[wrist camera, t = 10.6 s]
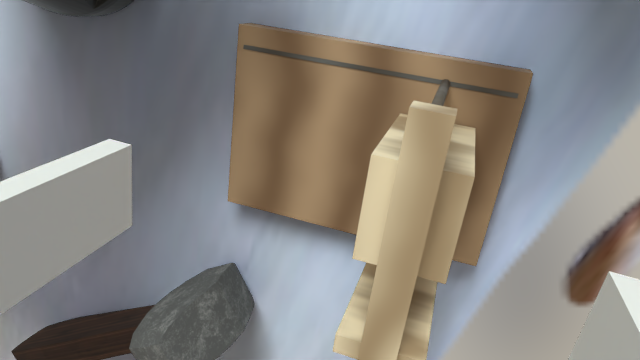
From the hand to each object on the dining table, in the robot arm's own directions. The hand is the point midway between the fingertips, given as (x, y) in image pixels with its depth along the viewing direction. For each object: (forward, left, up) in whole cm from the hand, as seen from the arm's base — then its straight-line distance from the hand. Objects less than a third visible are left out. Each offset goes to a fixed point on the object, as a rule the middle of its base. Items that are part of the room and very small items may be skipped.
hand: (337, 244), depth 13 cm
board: (-4, -4, -23) cm, 24 cm away
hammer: (-24, -27, -24) cm, 43 cm away
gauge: (+1, -5, -23) cm, 23 cm away
